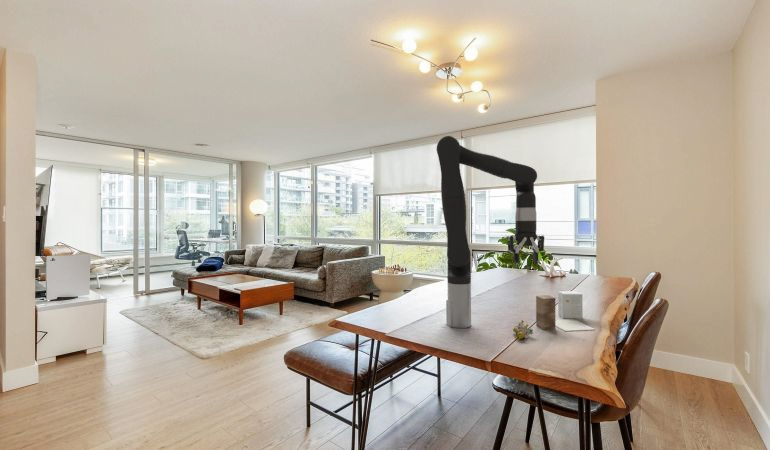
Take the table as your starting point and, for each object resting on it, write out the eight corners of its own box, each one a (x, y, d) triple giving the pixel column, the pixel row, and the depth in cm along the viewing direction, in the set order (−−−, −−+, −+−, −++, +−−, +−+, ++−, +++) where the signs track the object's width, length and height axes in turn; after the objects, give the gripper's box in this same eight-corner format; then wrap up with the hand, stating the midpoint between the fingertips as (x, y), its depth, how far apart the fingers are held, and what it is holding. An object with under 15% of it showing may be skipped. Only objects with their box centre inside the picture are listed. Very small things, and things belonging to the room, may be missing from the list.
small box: (577, 315, 154) (577, 291, 154) (582, 318, 148) (582, 293, 148) (557, 314, 155) (557, 290, 155) (562, 318, 149) (562, 293, 149)
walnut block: (543, 329, 135) (543, 298, 135) (536, 325, 140) (536, 295, 140) (555, 329, 136) (555, 298, 135) (548, 325, 141) (548, 295, 140)
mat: (565, 331, 133) (565, 330, 133) (546, 321, 146) (546, 320, 146) (595, 329, 134) (595, 329, 134) (573, 319, 147) (573, 319, 147)
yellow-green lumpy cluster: (534, 325, 136) (533, 335, 122) (524, 334, 137) (523, 345, 123) (522, 315, 137) (520, 324, 124) (513, 325, 138) (510, 334, 125)
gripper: (512, 219, 132) (512, 264, 132) (549, 219, 133) (548, 263, 133) (503, 219, 139) (503, 261, 139) (538, 219, 140) (538, 260, 141)
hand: (525, 262), depth 136 cm, fingers open, 7 cm apart
